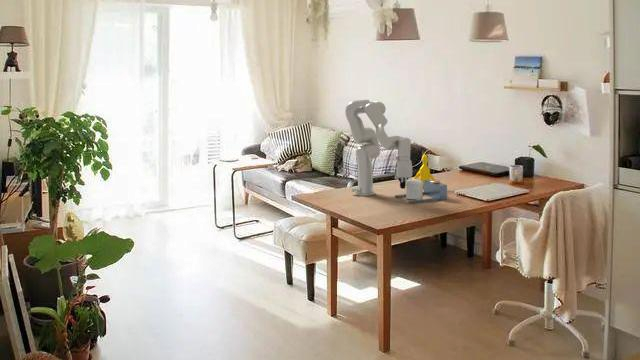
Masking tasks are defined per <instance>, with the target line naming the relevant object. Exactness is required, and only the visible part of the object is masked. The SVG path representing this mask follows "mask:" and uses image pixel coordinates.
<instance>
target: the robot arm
mask: <svg viewBox="0 0 640 360" xmlns="http://www.w3.org/2000/svg"><path fill="white" fill-rule="evenodd" d="M386 111H387V110H386V106H385V104H384V103H383V102H382V101H378V100H371V99H356V100H353V101H350V102H349V103H348V104H347V105H346V106H345V111H344V113H345V118H346V120H347V122H348V124H349V125H348V126H349V128H350V132H351V136H352V139H353V141H354V143H356V144H357V145H358V144H362V145H359V146H358V147H357V148H356V149H355V158H356V165H357V186H356V187H355V188H351V189H350V192H351V193H355V195H357V196H360V197H361V196H362V197H364V196H365V197H366V196H373V195H376V191H375V190H374V183H373V182H374V181H373V178H374V177H373V173H374V172H373V164H372V161H371V160H372V159H376V158H378V157H380V155H381V148H383V149H385V150H387V151H388V150H389V151H390V150H394V149H397V155H396V157H395V160H396V161H395V166H394V179H395V180H398V182H399V188H400V189H404V190H406V183H407V180H410V179H412V176H413V163H412V162H413V161H412V160H411V144H412V143H411V142H412V141H411V140H412V139H410V138H408V137H403V136H400V135H391V136H388V134H387V133H386V131H385V127H386V126H387V124H388V119H387V117H386V116H385V115H384V114H385V112H386ZM361 114H366V116H367V117H368V119H369V120H370V121H371V123H372V125H373V126H374V128H375V129H373V128H372V127H365V126H364V121H363V120H362V118H361V117H360V116H359V115H361ZM381 146H382V147H381Z"/></svg>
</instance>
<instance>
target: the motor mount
mask: <svg viewBox="0 0 640 360" xmlns="http://www.w3.org/2000/svg"><path fill="white" fill-rule="evenodd" d="M423 196H428V197H430V198H425V199H422V200H415V199H414V200H408V202H407V203H408V205H415V204H422V203H423V204H424V203H429V202H439V201H440V202H441V201H445V200H448V185H447V184H445V183H443V182H441V180H439V179H436V180H432V179H430V180H424V187H423ZM401 197H402V198H406V193H404V194H403V193H402V194H395V195H394V199H401Z"/></svg>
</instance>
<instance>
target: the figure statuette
mask: <svg viewBox="0 0 640 360" xmlns="http://www.w3.org/2000/svg"><path fill="white" fill-rule="evenodd" d="M428 161H429V158H428V155H427V154H423V155H422V157H421V162H422V166H421V167H420V168H419V170H418V172H417V173H416V175H415V176H414V177H413V178H412V179H417V180H420V181H422V182H423V188H424V180H437V179H436V178H435V177H434V176H433V175H432V174H431V169H430V167H428V165H427V164H428Z"/></svg>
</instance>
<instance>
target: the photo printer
mask: <svg viewBox="0 0 640 360" xmlns="http://www.w3.org/2000/svg"><path fill="white" fill-rule="evenodd" d="M405 190H406V191H405V192H406V193H405V194H406V197H405V198H406V199H408V200H414V201H415V200H423V196H424V195H423V192H424V187H423V182H422V181H420V180H419V179H418V178H417V179H413V178H409V179H408V180H407V181H406V186H405Z"/></svg>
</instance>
